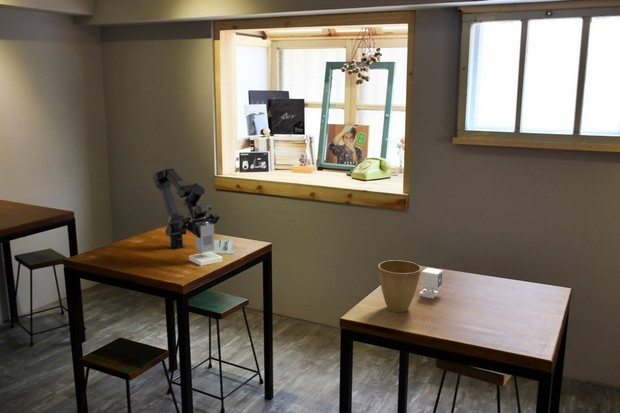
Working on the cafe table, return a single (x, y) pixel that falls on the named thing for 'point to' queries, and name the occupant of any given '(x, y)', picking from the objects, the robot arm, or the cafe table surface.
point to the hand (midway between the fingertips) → (206, 236)
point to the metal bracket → (222, 247)
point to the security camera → (431, 282)
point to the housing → (205, 236)
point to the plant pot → (398, 283)
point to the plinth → (205, 258)
